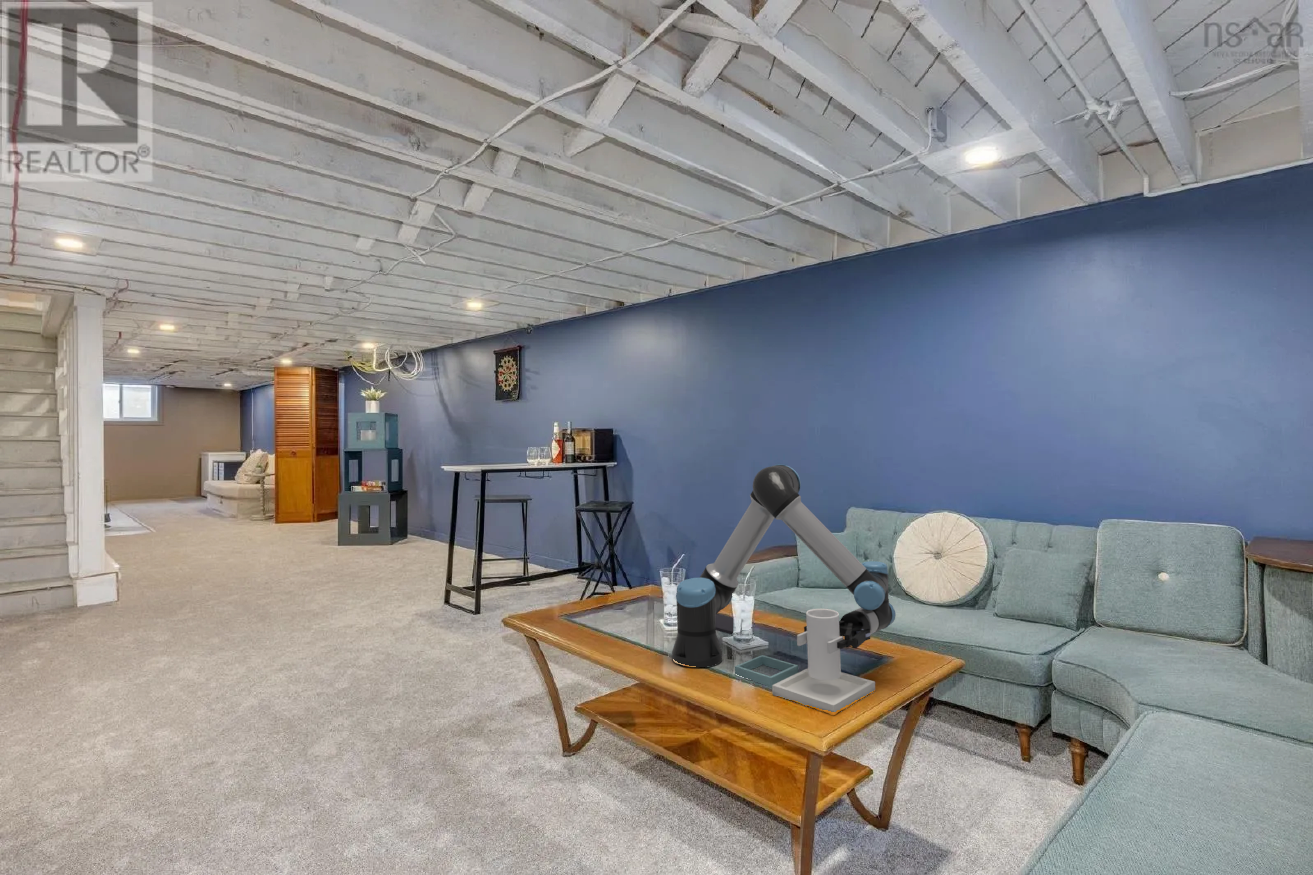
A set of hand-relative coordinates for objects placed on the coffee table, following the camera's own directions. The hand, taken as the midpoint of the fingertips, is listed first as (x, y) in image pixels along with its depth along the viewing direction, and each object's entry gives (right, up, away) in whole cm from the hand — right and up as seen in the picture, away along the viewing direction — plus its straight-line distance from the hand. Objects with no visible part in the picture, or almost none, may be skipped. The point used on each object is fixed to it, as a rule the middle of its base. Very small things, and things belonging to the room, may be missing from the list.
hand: (813, 644), depth 163 cm
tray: (+4, -14, +3) cm, 15 cm away
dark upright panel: (-17, -15, +65) cm, 69 cm away
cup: (+4, -9, +3) cm, 10 cm away
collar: (-9, -14, +17) cm, 24 cm away
